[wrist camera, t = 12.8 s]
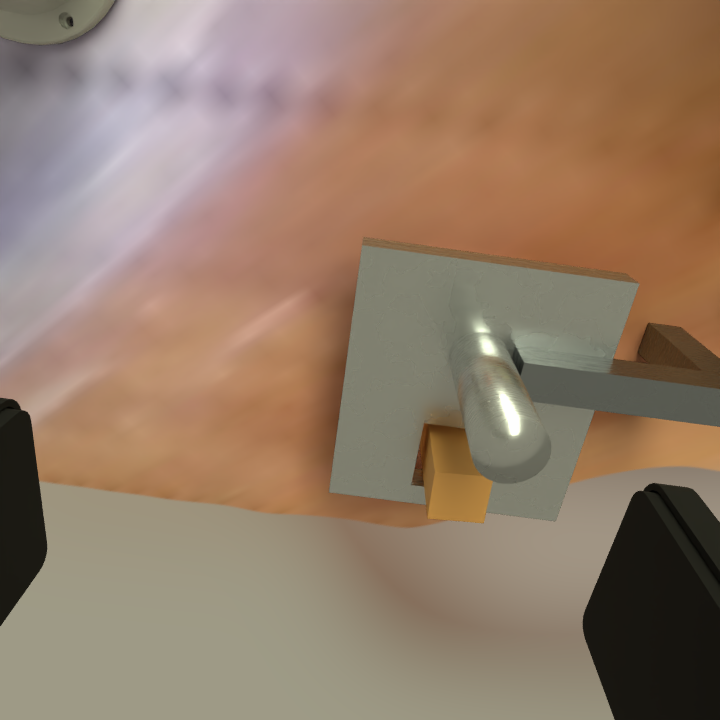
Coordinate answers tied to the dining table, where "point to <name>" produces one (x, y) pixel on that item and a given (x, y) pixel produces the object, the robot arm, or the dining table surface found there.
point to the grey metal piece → (467, 369)
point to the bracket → (630, 379)
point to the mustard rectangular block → (452, 476)
